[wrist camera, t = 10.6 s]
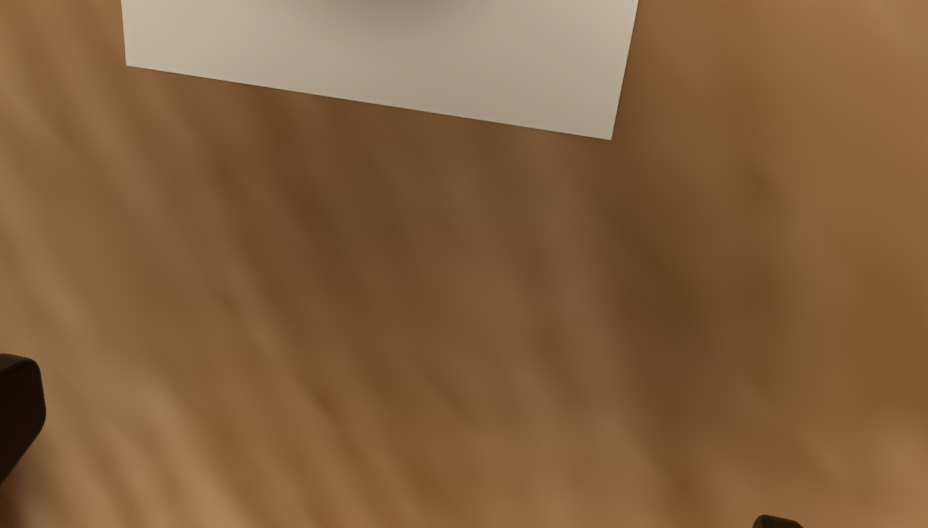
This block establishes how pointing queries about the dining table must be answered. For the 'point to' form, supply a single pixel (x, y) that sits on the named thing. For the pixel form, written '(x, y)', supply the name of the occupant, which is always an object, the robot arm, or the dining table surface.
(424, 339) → the dining table surface
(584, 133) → the potting mat
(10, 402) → the robot arm
